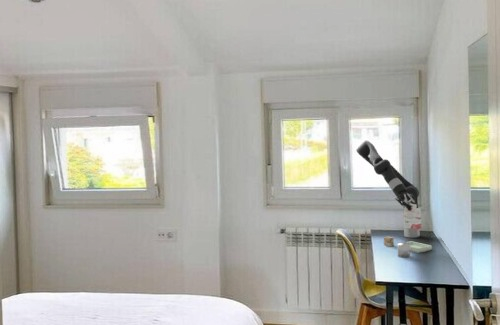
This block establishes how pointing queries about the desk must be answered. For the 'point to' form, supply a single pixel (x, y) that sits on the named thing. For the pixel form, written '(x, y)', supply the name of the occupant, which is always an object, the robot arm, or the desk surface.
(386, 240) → the oak block
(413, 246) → the sage tray
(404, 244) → the steel tin
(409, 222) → the ink cartridge box
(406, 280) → the desk surface
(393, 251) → the desk surface
